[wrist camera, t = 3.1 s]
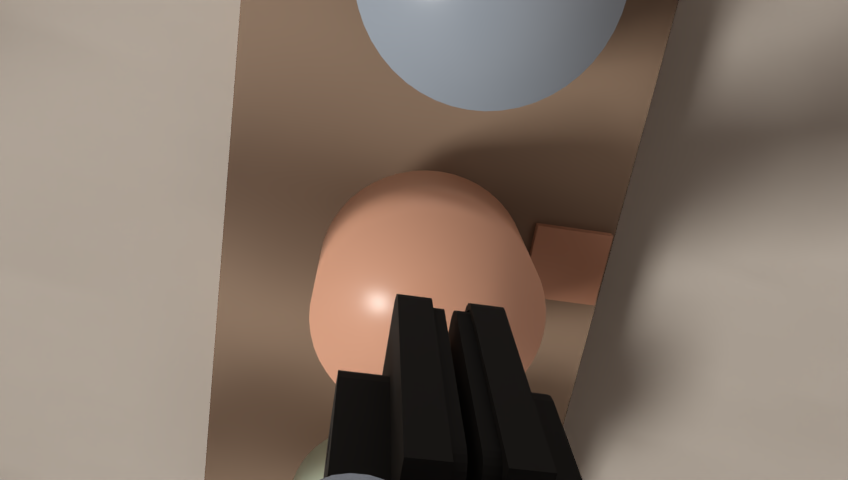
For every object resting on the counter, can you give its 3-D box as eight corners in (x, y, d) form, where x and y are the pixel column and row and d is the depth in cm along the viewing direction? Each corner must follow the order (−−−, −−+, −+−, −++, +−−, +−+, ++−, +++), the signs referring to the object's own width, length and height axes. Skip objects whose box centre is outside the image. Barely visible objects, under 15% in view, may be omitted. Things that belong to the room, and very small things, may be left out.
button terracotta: (502, 369, 17) (519, 432, 15) (309, 346, 17) (297, 407, 15) (544, 186, 16) (569, 227, 14) (332, 155, 15) (323, 191, 13)
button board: (515, 510, 23) (527, 565, 21) (216, 480, 22) (198, 534, 20) (681, -137, 17) (721, -147, 15) (273, -216, 16) (256, -238, 14)
